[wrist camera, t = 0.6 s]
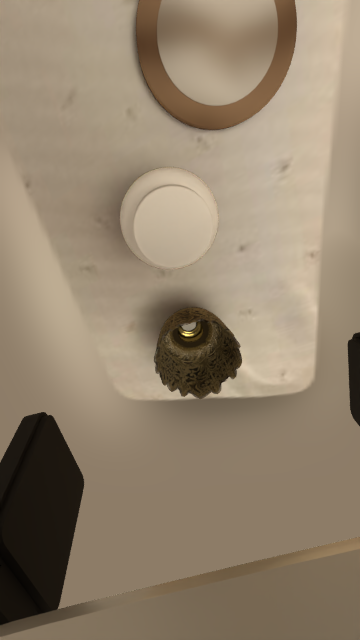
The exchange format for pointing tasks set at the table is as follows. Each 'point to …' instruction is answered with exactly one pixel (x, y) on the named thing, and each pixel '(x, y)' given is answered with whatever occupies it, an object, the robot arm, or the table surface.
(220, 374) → the brown scalloped shell
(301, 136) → the table surface
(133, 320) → the table surface
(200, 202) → the supplement bottle
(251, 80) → the plate
